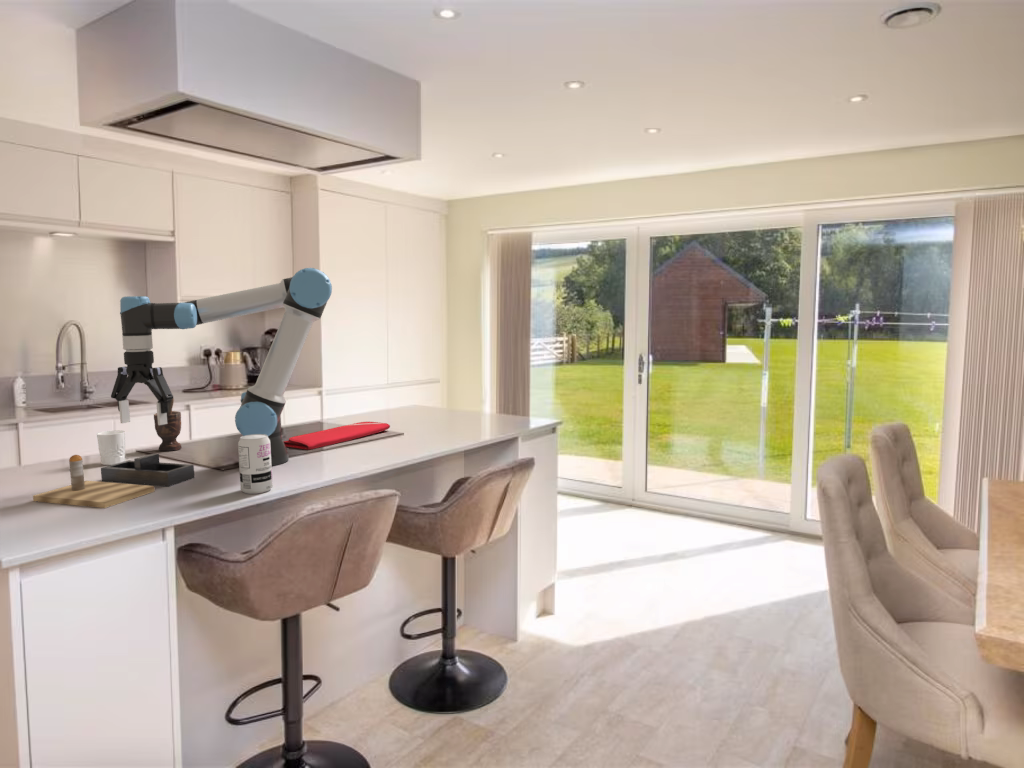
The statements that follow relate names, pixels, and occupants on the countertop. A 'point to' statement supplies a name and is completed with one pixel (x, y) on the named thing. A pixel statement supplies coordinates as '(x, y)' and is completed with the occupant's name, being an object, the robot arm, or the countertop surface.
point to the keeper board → (91, 490)
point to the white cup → (111, 447)
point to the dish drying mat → (335, 435)
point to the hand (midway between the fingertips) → (143, 423)
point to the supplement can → (255, 463)
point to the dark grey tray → (147, 472)
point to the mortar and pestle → (169, 429)
